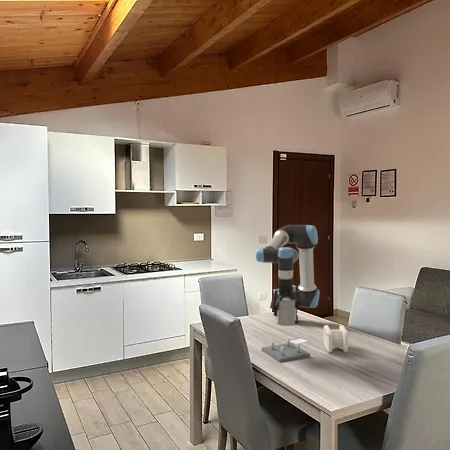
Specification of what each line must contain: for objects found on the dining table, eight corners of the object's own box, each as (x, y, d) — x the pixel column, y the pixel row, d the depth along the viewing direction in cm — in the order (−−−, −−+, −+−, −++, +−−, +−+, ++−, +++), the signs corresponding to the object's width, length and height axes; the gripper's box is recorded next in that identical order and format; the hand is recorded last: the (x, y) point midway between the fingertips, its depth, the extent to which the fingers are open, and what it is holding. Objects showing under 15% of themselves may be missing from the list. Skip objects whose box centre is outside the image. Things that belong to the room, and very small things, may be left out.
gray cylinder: (296, 325, 218) (296, 301, 217) (277, 325, 218) (277, 301, 217) (293, 320, 227) (293, 297, 226) (275, 320, 227) (275, 297, 227)
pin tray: (261, 350, 228) (261, 340, 228) (290, 345, 235) (290, 335, 235) (279, 362, 212) (279, 351, 211) (310, 356, 219) (310, 345, 219)
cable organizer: (348, 354, 221) (348, 332, 220) (327, 354, 222) (327, 332, 221) (342, 345, 236) (342, 324, 235) (322, 344, 237) (322, 323, 236)
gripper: (270, 280, 213) (270, 325, 214) (308, 277, 222) (307, 320, 223) (263, 278, 220) (263, 321, 221) (299, 275, 229) (299, 316, 230)
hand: (285, 321), depth 222 cm, fingers closed on gray cylinder, 9 cm apart
